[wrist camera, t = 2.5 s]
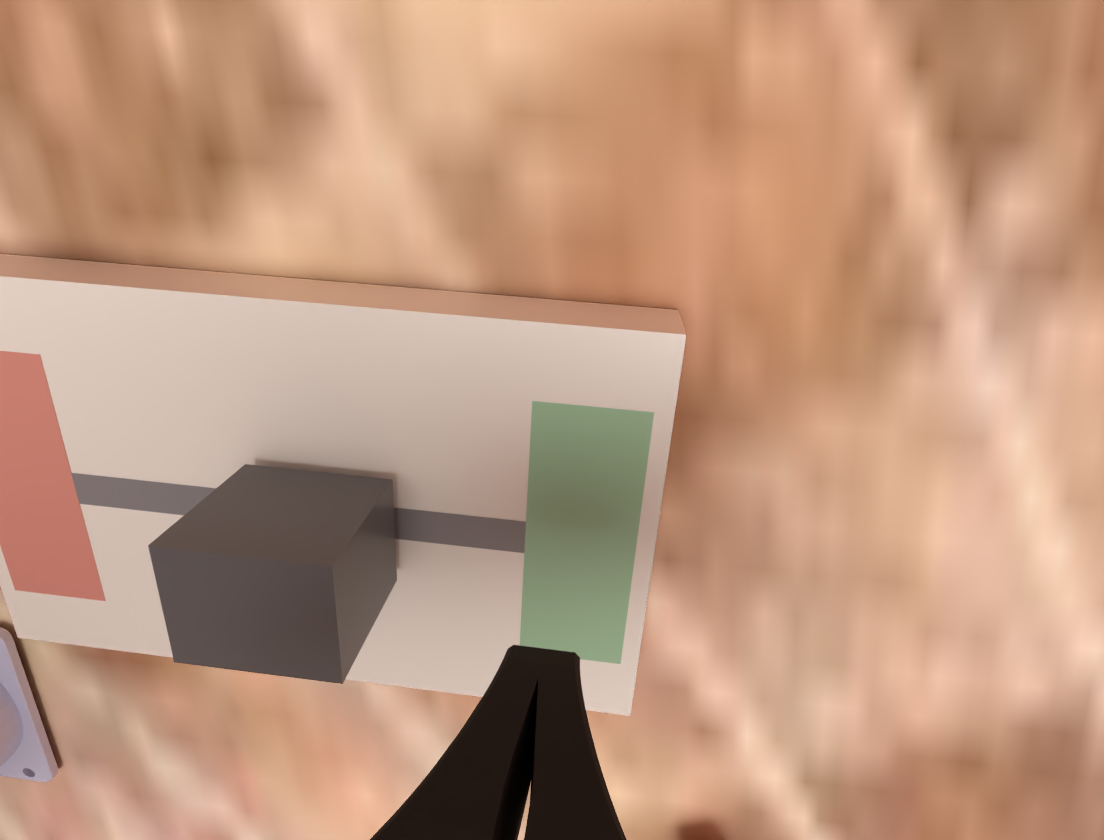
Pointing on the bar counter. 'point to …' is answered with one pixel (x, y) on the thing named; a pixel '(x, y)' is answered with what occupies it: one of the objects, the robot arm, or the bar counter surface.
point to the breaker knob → (278, 572)
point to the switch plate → (341, 453)
